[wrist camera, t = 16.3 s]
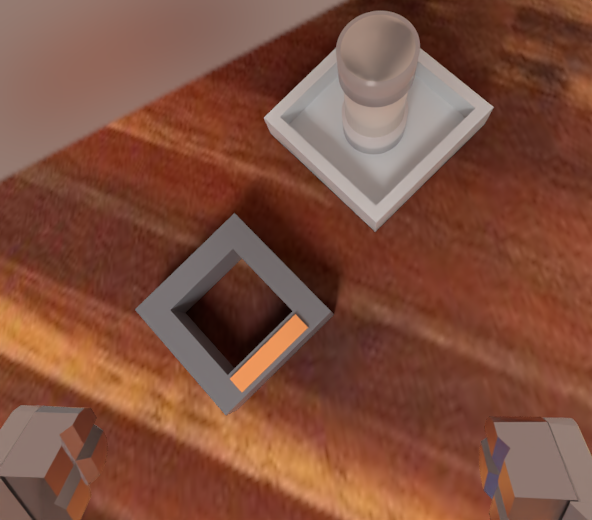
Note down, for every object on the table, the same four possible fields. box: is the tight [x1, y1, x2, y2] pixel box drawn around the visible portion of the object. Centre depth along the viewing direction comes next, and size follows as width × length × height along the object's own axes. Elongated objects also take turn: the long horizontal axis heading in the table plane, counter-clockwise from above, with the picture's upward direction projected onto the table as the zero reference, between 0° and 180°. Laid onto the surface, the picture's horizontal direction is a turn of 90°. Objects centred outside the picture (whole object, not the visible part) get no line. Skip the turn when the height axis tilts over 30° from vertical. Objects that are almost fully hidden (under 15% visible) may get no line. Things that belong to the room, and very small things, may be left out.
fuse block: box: [135, 213, 334, 415], centre depth 29 cm, size 8×8×3 cm
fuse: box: [336, 11, 420, 154], centre depth 26 cm, size 4×4×8 cm
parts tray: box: [264, 48, 494, 232], centre depth 30 cm, size 9×9×2 cm
